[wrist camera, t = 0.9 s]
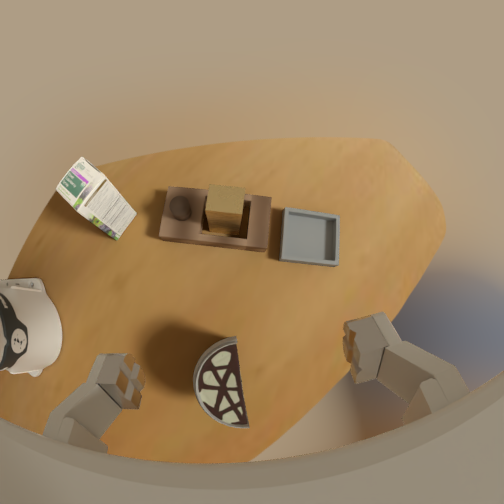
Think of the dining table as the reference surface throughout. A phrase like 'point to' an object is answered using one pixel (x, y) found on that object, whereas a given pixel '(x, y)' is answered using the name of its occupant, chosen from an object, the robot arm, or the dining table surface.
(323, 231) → the tray
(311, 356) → the dining table surface
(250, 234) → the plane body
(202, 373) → the food container
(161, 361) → the dining table surface
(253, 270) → the dining table surface
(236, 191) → the gold rectangular block
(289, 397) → the dining table surface
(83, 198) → the syrup box
